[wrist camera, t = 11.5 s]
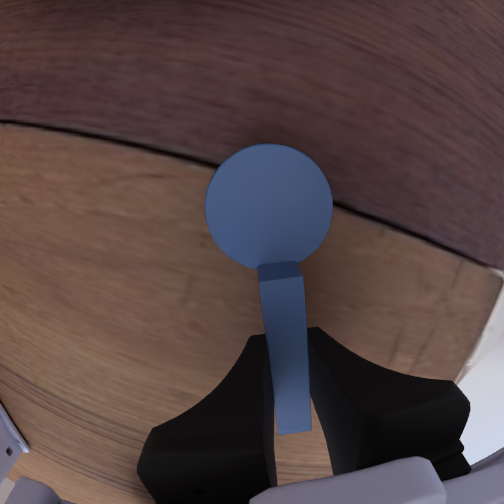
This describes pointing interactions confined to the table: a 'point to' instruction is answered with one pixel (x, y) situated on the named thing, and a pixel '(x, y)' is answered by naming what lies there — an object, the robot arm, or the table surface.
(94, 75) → the table surface
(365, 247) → the table surface
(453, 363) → the table surface
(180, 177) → the table surface
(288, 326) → the blue spoon
